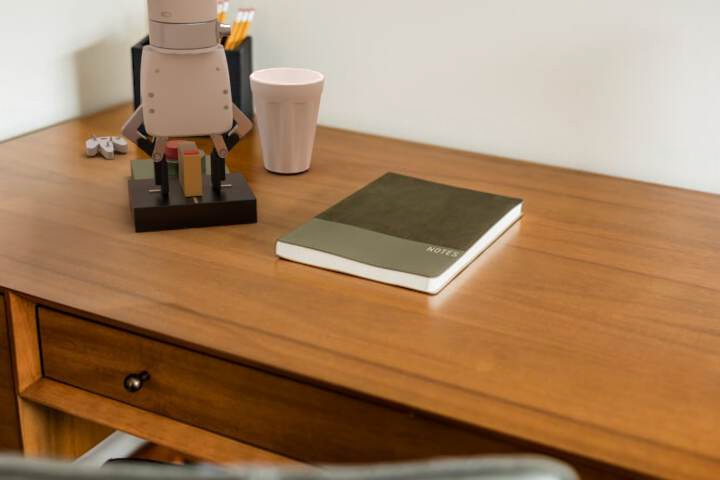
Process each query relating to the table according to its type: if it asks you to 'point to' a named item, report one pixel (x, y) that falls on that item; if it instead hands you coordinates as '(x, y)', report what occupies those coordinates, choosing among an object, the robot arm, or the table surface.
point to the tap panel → (191, 204)
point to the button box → (146, 167)
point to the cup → (287, 115)
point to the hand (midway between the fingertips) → (190, 187)
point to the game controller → (106, 146)
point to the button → (172, 149)
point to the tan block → (190, 169)
